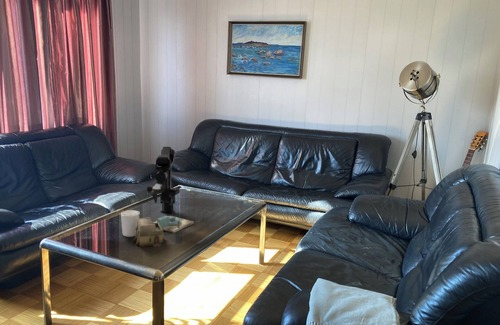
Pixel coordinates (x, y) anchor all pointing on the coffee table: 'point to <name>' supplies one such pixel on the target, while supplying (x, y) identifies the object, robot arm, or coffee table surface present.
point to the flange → (167, 221)
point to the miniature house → (148, 233)
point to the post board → (179, 225)
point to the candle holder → (129, 222)
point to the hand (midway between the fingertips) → (163, 204)
